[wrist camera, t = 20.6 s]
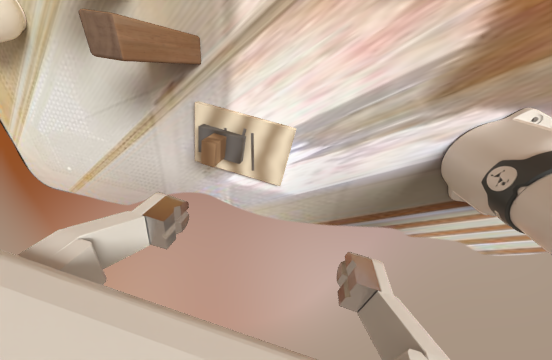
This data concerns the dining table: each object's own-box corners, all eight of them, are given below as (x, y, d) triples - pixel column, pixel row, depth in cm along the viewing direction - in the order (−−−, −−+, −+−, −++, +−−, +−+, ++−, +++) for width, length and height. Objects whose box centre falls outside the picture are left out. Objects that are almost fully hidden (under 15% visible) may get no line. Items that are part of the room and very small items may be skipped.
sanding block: (246, 136, 42) (233, 147, 36) (242, 160, 45) (230, 174, 39) (203, 123, 43) (183, 132, 37) (203, 148, 46) (185, 160, 40)
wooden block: (160, 58, 39) (58, 50, 24) (156, 30, 37) (40, 2, 22) (202, 64, 38) (123, 61, 23) (200, 36, 36) (111, 12, 21)
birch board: (296, 128, 41) (295, 130, 39) (281, 183, 48) (280, 186, 47) (198, 101, 42) (194, 102, 41) (198, 158, 49) (194, 160, 48)
